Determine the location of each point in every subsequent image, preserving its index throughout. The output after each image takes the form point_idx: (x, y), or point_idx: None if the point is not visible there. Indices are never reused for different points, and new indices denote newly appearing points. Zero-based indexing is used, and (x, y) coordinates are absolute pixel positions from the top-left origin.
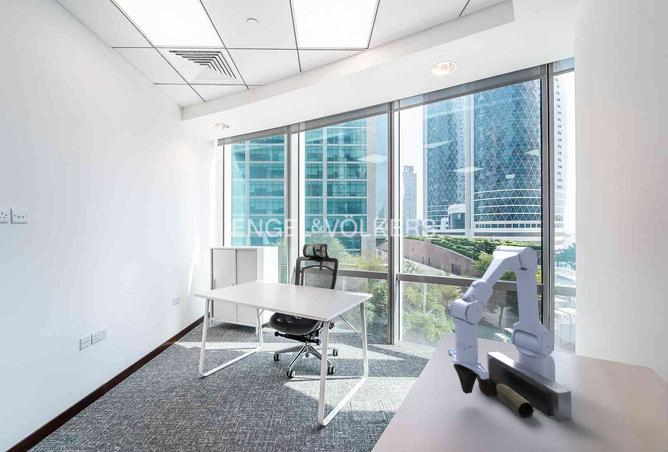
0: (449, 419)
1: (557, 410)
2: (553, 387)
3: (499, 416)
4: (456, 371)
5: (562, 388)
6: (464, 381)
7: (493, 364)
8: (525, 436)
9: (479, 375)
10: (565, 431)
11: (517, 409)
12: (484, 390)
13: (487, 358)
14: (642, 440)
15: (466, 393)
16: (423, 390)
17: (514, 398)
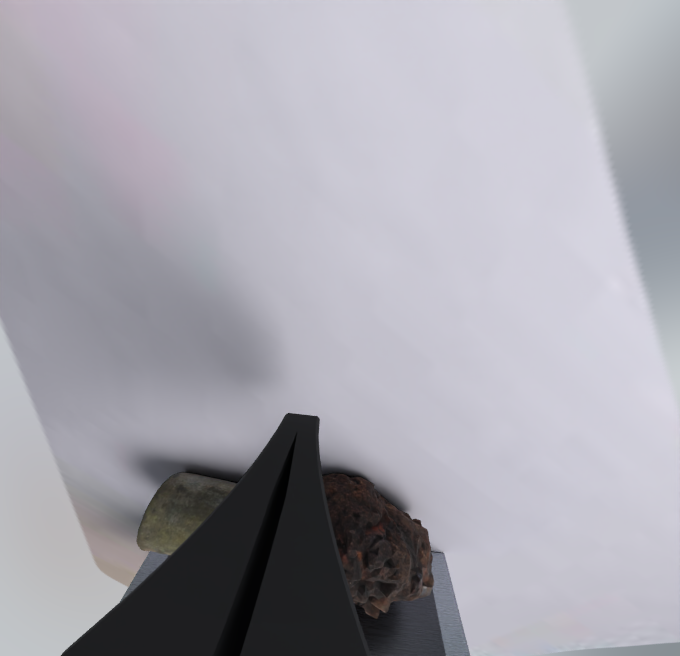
0: (181, 171)
1: (148, 560)
2: None
3: (197, 422)
4: (341, 587)
5: None
6: (229, 503)
7: (415, 638)
8: (83, 414)
9: (373, 567)
10: (125, 504)
11: (158, 495)
12: (327, 492)
13: (468, 652)
14: (111, 566)
15: (285, 417)
16: (547, 218)
17: (178, 538)
